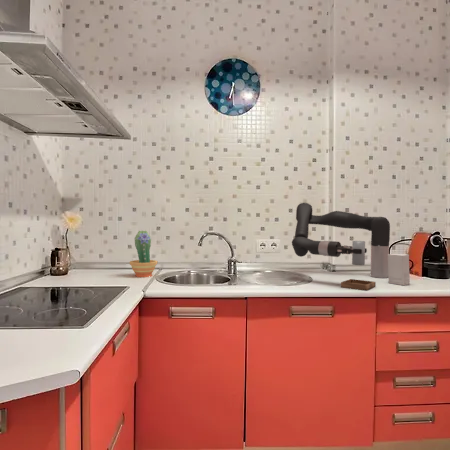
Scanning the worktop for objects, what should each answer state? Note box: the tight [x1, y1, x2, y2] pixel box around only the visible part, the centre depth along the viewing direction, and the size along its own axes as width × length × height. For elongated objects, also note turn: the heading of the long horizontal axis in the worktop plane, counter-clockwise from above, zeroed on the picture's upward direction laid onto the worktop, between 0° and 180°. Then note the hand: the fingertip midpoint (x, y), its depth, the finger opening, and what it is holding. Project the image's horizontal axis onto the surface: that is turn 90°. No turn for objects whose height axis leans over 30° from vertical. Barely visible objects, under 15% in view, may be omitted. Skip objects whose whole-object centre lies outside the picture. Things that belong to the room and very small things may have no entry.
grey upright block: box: [351, 240, 366, 266], centre depth 175 cm, size 6×6×11 cm
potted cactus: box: [128, 230, 158, 278], centre depth 205 cm, size 15×15×25 cm
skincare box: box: [387, 253, 411, 286], centre depth 185 cm, size 8×6×15 cm
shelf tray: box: [340, 278, 377, 292], centre depth 176 cm, size 12×12×2 cm
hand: (363, 251), depth 174 cm, fingers closed on grey upright block, 5 cm apart
